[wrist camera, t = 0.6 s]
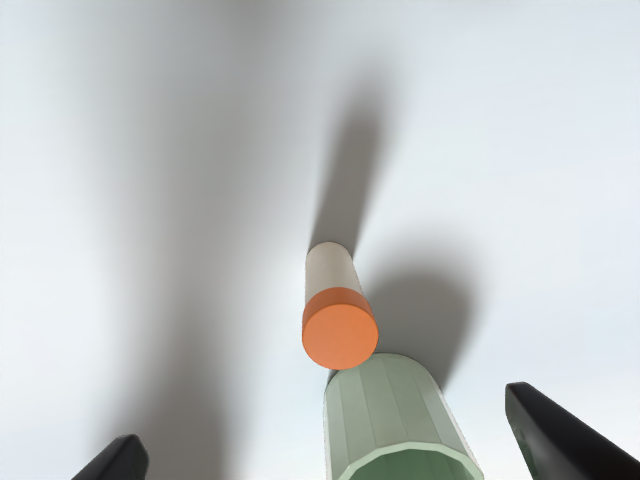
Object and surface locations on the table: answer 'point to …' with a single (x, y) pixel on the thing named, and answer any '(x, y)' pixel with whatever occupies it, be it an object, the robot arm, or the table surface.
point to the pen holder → (392, 425)
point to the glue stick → (336, 310)
